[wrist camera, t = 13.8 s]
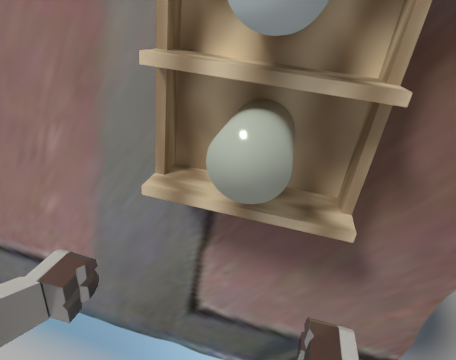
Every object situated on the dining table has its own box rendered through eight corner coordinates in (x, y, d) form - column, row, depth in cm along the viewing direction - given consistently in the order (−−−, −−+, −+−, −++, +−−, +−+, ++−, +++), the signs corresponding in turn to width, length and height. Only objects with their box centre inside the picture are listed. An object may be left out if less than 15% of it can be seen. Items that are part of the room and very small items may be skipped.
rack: (448, -99, 21) (511, -156, 15) (343, 202, 32) (352, 242, 26) (179, -117, 24) (135, -171, 18) (170, 165, 35) (141, 194, 29)
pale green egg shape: (301, 104, 28) (301, 132, 20) (287, 166, 31) (282, 212, 23) (235, 93, 29) (209, 116, 21) (227, 154, 32) (202, 194, 24)
